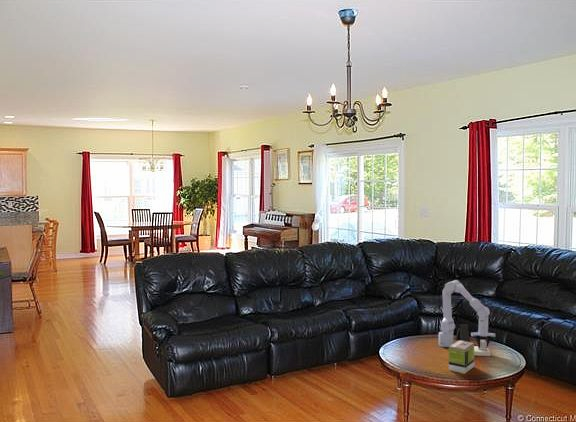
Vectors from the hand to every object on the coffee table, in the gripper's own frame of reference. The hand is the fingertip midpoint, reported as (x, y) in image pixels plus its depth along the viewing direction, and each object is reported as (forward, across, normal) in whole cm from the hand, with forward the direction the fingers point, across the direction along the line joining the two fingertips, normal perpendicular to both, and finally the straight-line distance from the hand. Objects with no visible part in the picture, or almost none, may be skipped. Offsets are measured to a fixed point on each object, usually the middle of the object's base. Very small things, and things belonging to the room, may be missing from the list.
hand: (482, 347), depth 343 cm
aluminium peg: (+2, 0, 0) cm, 2 cm away
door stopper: (+4, -7, +24) cm, 25 cm away
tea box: (+4, -19, -30) cm, 36 cm away
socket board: (+4, -4, 0) cm, 6 cm away
